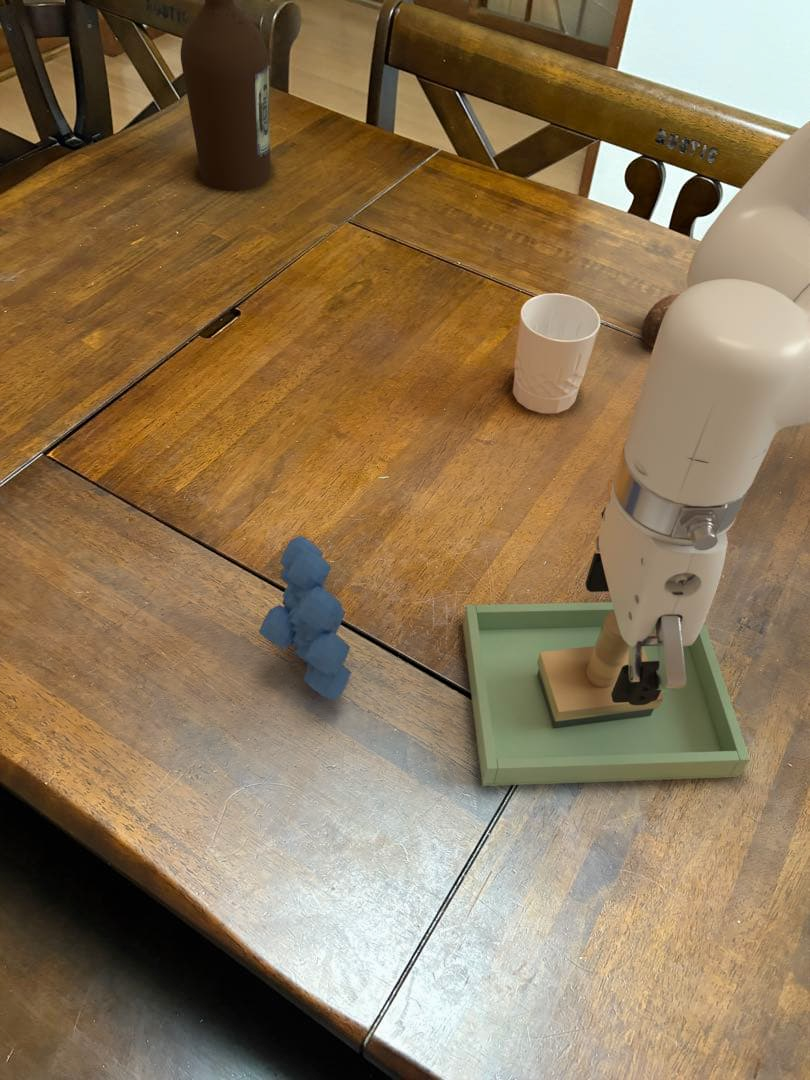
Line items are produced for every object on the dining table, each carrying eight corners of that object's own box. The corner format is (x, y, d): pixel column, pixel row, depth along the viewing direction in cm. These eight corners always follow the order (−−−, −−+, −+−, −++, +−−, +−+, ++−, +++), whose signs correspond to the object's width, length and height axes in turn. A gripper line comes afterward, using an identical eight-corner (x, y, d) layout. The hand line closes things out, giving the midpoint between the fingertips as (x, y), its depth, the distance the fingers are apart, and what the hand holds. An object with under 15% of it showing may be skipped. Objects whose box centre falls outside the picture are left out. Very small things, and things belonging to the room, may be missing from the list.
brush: (631, 660, 75) (664, 586, 68) (654, 717, 72) (690, 647, 64) (533, 672, 74) (555, 598, 66) (551, 731, 71) (576, 661, 63)
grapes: (249, 616, 77) (235, 522, 68) (326, 598, 79) (324, 504, 69) (281, 735, 70) (271, 648, 61) (365, 713, 72) (368, 625, 62)
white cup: (530, 361, 101) (545, 283, 93) (593, 390, 98) (614, 313, 91) (493, 398, 97) (505, 320, 89) (558, 430, 94) (576, 352, 86)
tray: (687, 621, 79) (697, 599, 77) (736, 778, 70) (750, 759, 67) (462, 626, 77) (465, 604, 75) (482, 787, 68) (486, 768, 66)
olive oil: (191, 194, 120) (162, -17, 101) (201, 154, 127) (175, -51, 108) (272, 196, 121) (259, -13, 102) (278, 157, 127) (266, -46, 108)
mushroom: (738, 332, 101) (717, 284, 98) (683, 376, 100) (661, 329, 97) (693, 323, 108) (672, 278, 105) (641, 364, 107) (619, 320, 104)
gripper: (788, 597, 49) (699, 745, 62) (702, 385, 60) (641, 549, 73) (652, 601, 49) (590, 749, 62) (590, 386, 60) (549, 551, 73)
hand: (618, 640), depth 68 cm, fingers open, 9 cm apart
